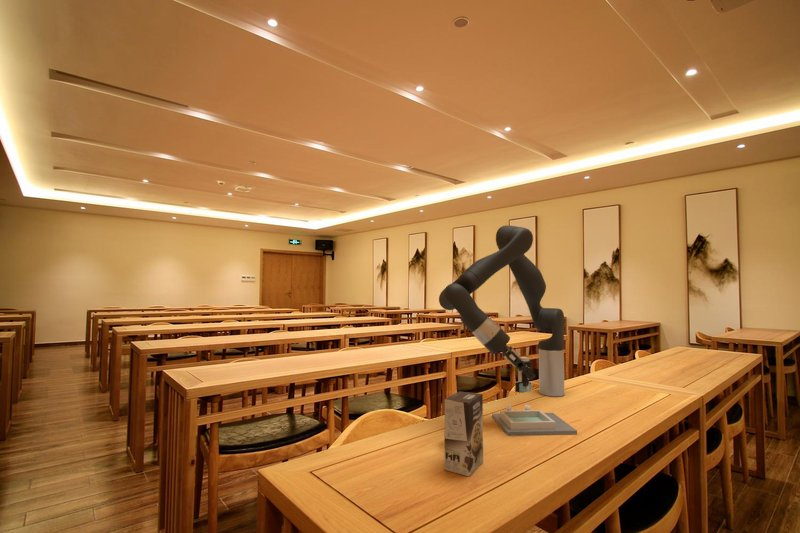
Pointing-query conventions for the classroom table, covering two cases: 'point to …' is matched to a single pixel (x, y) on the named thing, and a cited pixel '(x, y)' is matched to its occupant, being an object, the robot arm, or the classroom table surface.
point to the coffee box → (463, 432)
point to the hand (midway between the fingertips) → (531, 375)
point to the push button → (523, 378)
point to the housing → (531, 422)
